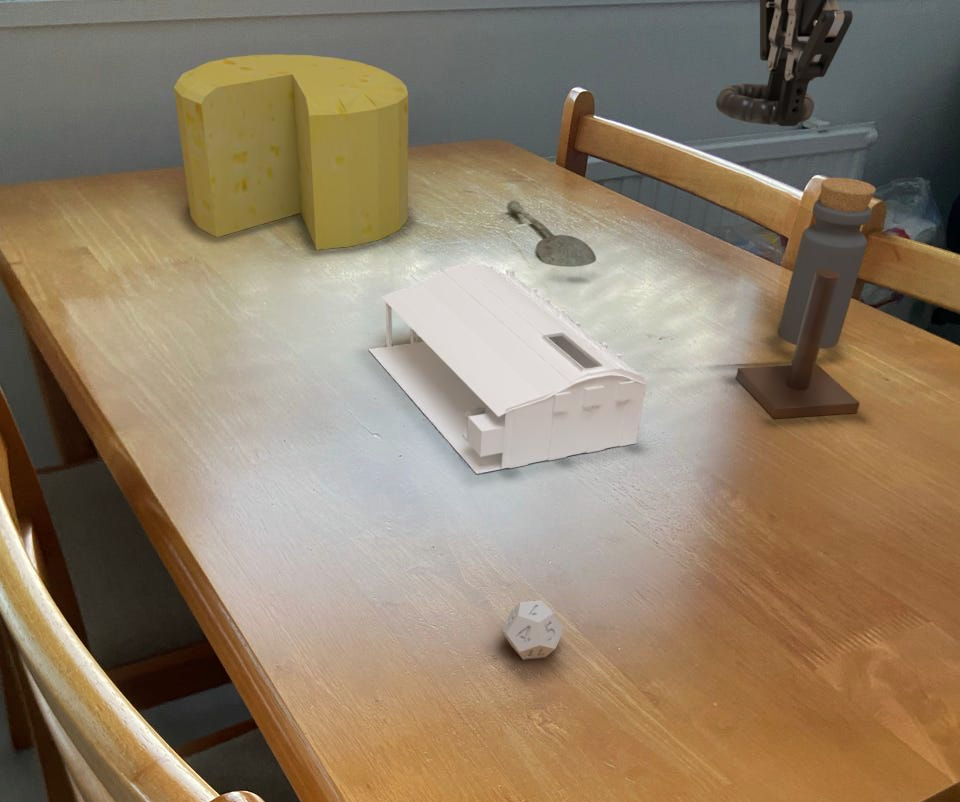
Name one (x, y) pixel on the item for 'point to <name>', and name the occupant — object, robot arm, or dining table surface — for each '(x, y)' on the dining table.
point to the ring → (754, 104)
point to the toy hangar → (508, 371)
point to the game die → (532, 629)
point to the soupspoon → (556, 244)
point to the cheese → (295, 146)
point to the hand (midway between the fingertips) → (779, 120)
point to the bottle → (829, 255)
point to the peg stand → (803, 366)
